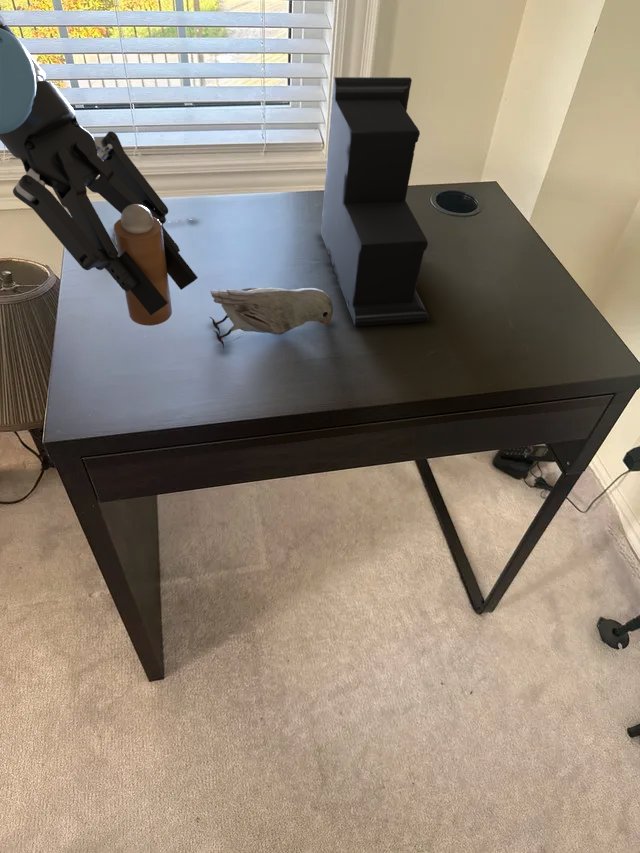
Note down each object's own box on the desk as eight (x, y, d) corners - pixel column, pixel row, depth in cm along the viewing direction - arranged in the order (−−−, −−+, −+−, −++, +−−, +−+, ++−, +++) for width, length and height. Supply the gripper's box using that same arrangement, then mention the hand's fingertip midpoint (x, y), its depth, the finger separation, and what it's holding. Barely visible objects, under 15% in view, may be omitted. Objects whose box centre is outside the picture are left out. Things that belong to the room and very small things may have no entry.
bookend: (429, 322, 88) (470, 153, 71) (353, 328, 86) (376, 156, 69) (384, 232, 103) (409, 75, 86) (319, 235, 102) (331, 75, 84)
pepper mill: (120, 316, 73) (99, 209, 63) (146, 295, 76) (130, 189, 66) (154, 330, 72) (139, 223, 62) (180, 309, 75) (169, 203, 65)
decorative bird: (336, 336, 85) (341, 289, 79) (215, 354, 81) (212, 305, 75) (324, 312, 88) (328, 265, 83) (208, 327, 84) (204, 279, 79)
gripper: (-45, 108, 54) (140, 328, 62) (97, 53, 65) (238, 245, 73) (-68, 154, 59) (105, 351, 67) (67, 96, 71) (202, 270, 78)
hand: (174, 295), depth 70 cm, fingers closed on pepper mill, 5 cm apart
